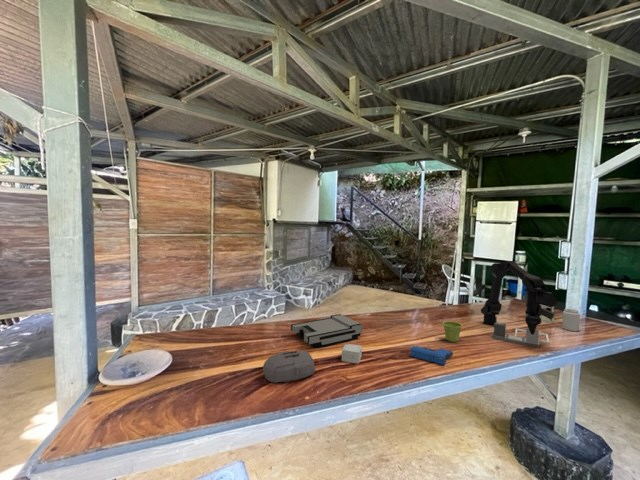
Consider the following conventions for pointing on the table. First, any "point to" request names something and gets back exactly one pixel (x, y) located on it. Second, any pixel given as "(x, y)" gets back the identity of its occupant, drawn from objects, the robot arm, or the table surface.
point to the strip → (515, 340)
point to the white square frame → (538, 334)
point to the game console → (328, 331)
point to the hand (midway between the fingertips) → (532, 331)
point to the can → (571, 320)
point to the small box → (351, 353)
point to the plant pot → (452, 330)
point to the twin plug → (499, 329)
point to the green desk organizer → (545, 319)
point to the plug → (532, 336)
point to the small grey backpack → (288, 366)
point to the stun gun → (431, 354)
